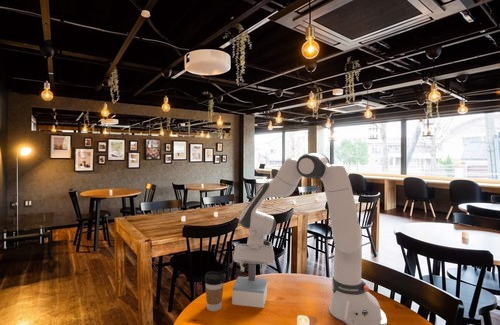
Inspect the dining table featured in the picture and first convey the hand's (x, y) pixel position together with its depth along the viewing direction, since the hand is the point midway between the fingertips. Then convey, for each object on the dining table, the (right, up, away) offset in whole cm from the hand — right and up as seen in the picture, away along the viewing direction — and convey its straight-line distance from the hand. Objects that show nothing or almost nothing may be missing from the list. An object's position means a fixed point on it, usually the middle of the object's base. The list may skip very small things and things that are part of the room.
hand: (251, 271), depth 126 cm
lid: (-1, -5, -4) cm, 6 cm away
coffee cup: (-16, -12, -11) cm, 23 cm away
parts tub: (-1, -12, -4) cm, 12 cm away
